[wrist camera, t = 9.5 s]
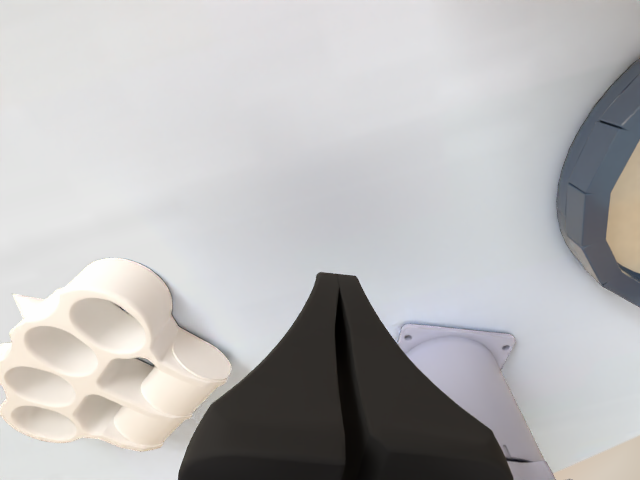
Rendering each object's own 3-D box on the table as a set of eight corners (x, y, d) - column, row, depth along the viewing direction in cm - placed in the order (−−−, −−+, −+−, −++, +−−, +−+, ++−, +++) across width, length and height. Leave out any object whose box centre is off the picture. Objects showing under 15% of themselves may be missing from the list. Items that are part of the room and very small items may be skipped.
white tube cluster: (153, 440, 34) (-12, 370, 30) (259, 330, 26) (59, 215, 22) (136, 478, 31) (-50, 407, 27) (250, 367, 23) (18, 243, 19)
